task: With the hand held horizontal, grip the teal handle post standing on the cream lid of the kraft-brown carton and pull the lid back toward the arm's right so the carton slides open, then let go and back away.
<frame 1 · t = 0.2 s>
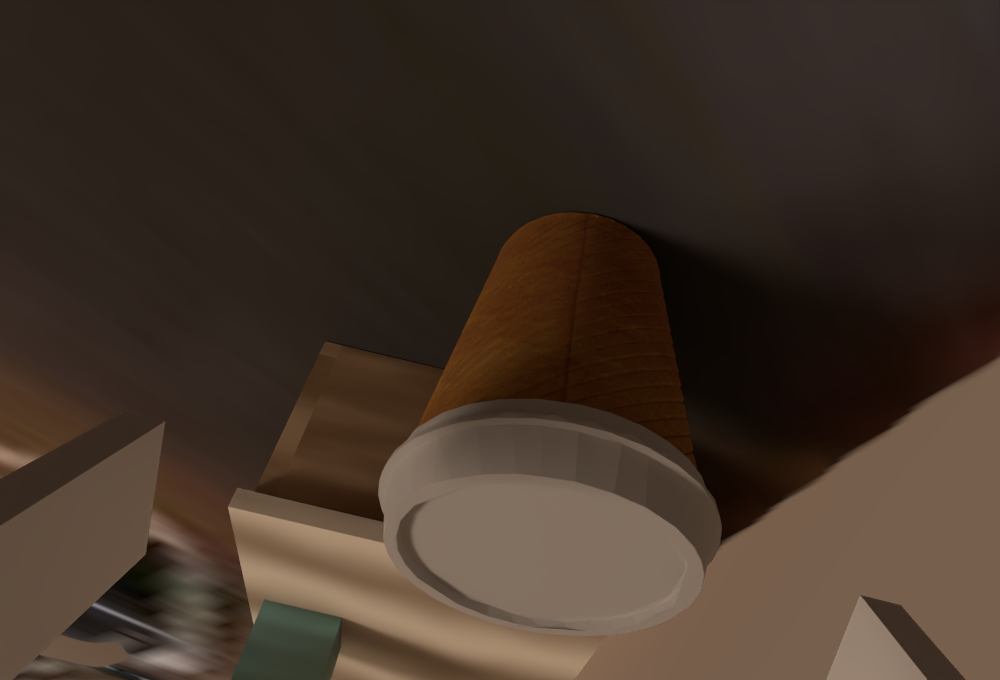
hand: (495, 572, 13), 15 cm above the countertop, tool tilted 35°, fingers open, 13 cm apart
carton: (451, 481, 39), on the countertop
disposable coffee cup: (577, 275, 27), on the countertop
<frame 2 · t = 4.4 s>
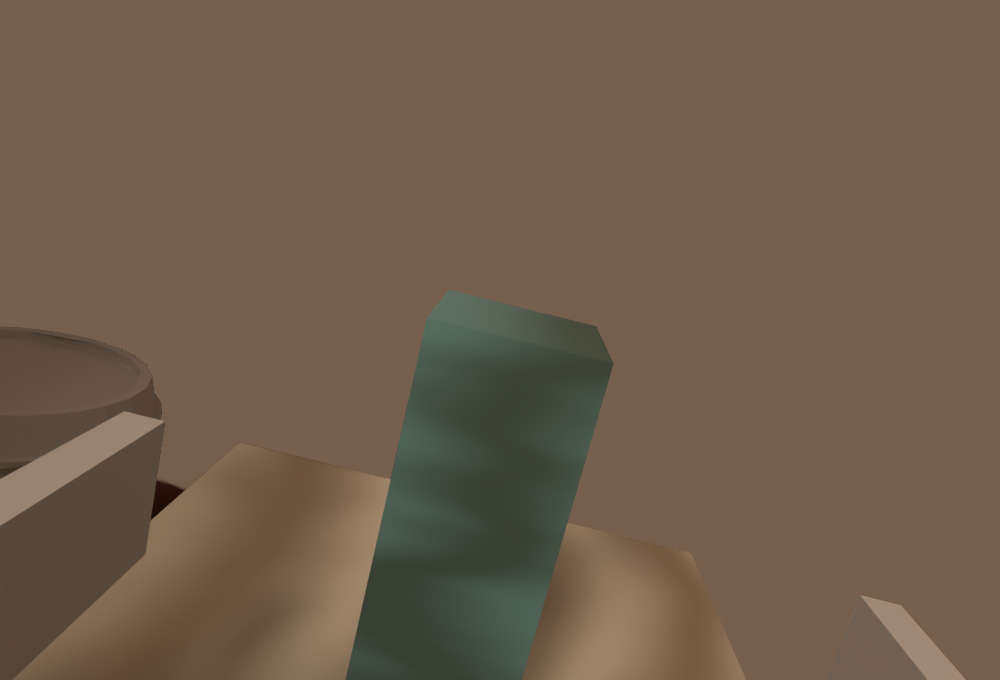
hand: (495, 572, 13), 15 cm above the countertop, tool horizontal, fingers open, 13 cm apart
lid: (478, 466, 21), point 14 cm above the countertop, slide at 0.0 cm
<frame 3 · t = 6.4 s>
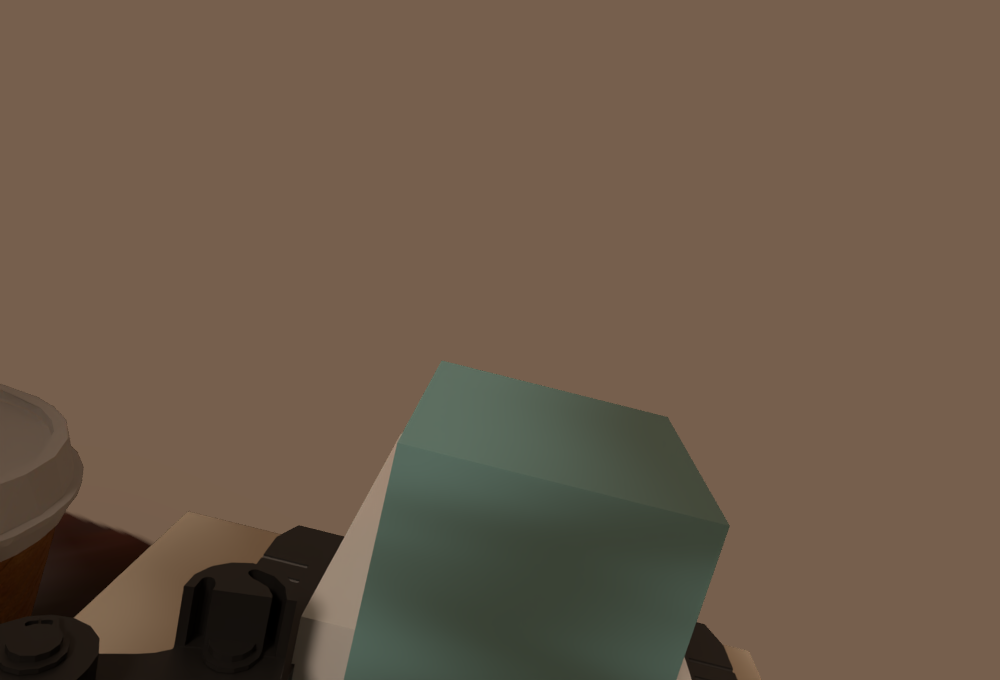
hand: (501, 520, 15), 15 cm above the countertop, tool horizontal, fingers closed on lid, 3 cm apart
lid: (485, 583, 15), point 14 cm above the countertop, slide at 0.0 cm, touching gripper
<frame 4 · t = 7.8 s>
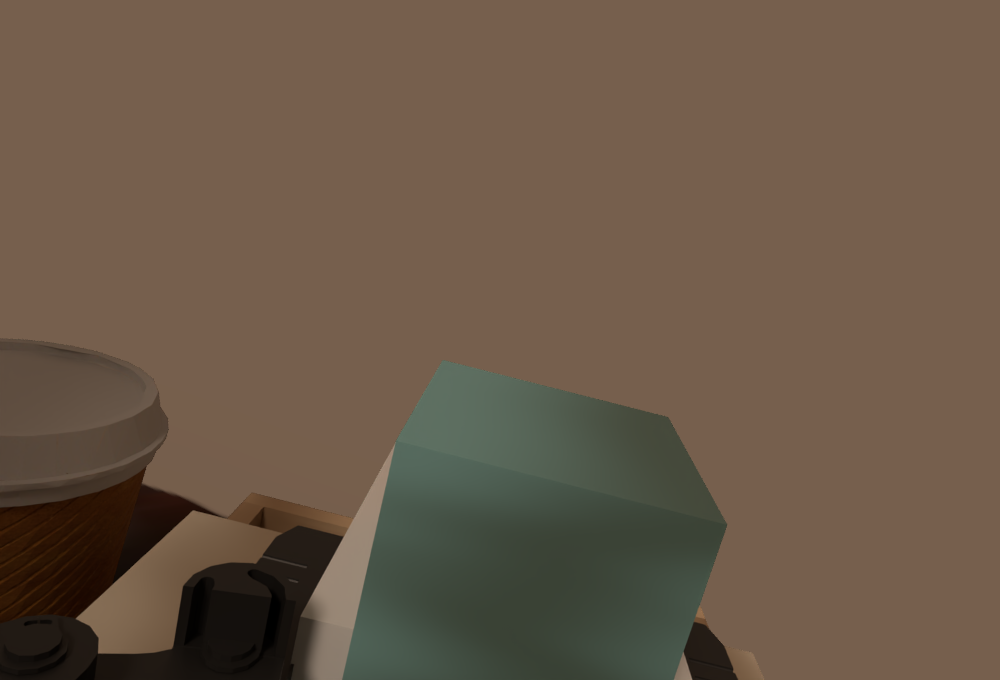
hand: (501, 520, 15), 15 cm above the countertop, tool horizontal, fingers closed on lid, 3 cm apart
lid: (487, 583, 15), point 14 cm above the countertop, slide at 4.6 cm, touching gripper
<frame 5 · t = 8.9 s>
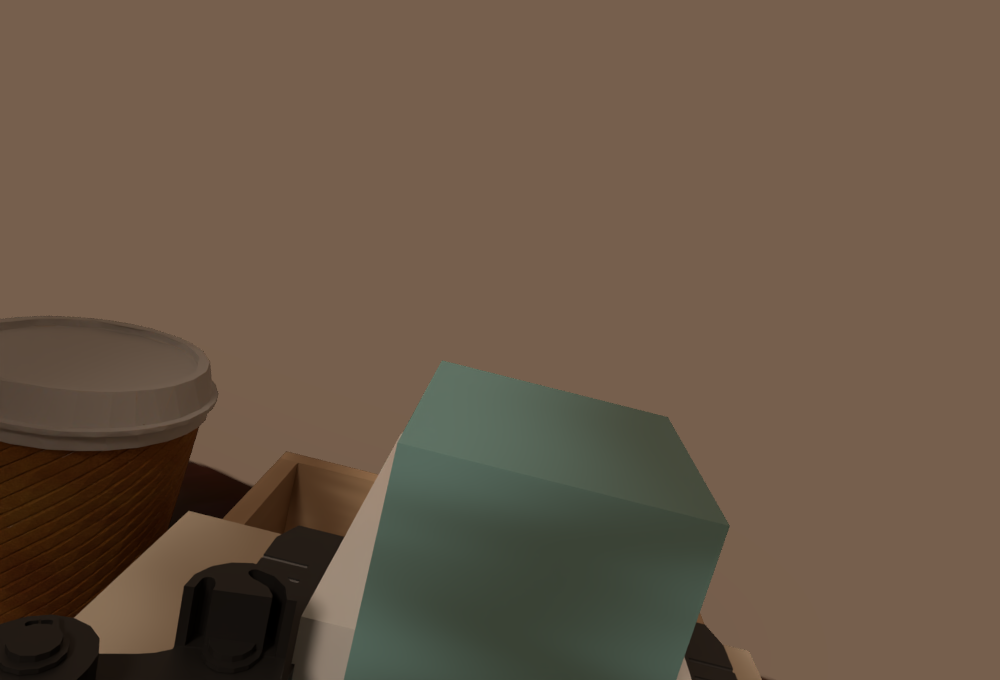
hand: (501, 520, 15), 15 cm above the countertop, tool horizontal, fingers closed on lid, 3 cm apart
lid: (485, 583, 15), point 14 cm above the countertop, slide at 9.0 cm, touching gripper
disposable coffee cup: (56, 624, 30), on the countertop
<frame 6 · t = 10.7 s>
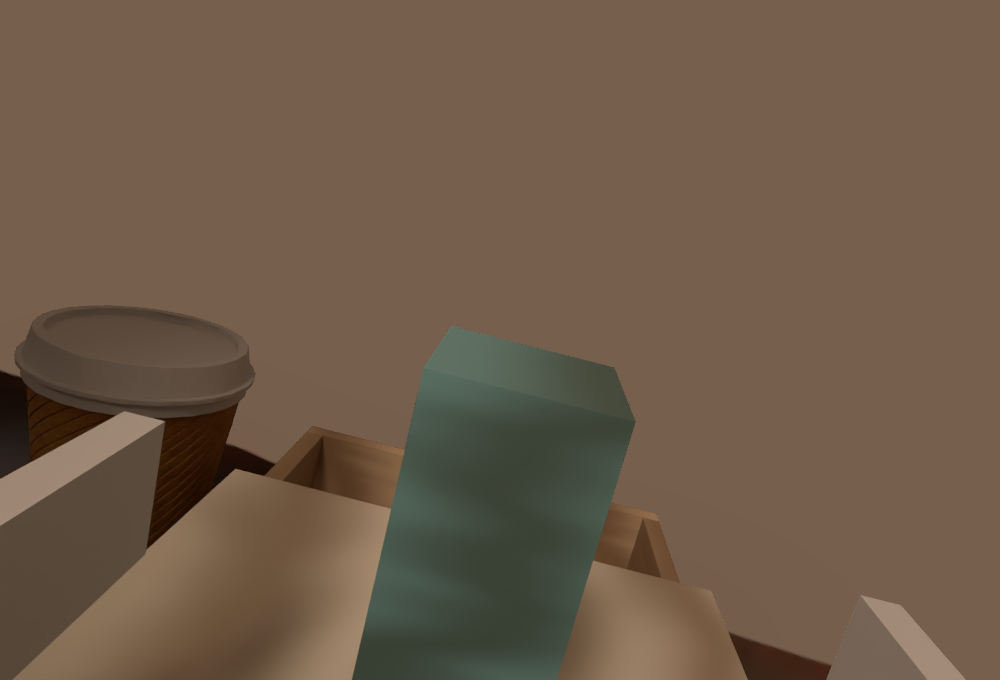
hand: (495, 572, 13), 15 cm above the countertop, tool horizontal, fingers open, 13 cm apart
lid: (484, 509, 19), point 14 cm above the countertop, slide at 9.0 cm
disposable coffee cup: (113, 575, 34), on the countertop
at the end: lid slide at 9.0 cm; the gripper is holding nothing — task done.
